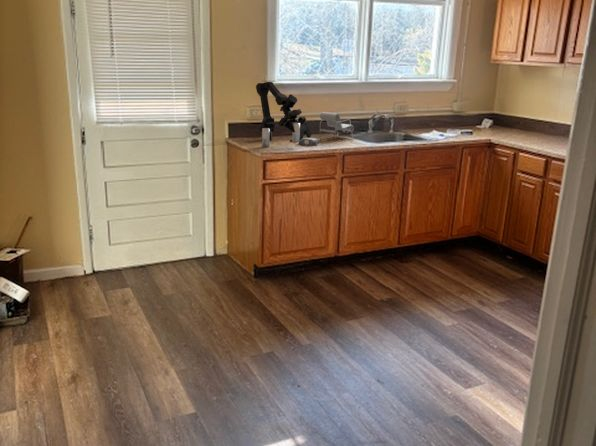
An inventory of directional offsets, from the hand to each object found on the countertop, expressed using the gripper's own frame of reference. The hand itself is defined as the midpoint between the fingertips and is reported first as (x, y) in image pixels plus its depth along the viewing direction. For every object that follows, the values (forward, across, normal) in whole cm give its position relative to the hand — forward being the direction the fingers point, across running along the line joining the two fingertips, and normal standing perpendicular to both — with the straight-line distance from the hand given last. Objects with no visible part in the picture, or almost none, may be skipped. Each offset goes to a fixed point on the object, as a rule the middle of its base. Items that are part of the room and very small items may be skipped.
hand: (297, 131), depth 371 cm
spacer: (-2, -16, +17) cm, 23 cm away
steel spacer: (+4, 0, +6) cm, 7 cm away
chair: (-5, +50, +21) cm, 54 cm away
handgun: (-13, +28, +29) cm, 42 cm away
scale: (+1, +18, +15) cm, 23 cm away
